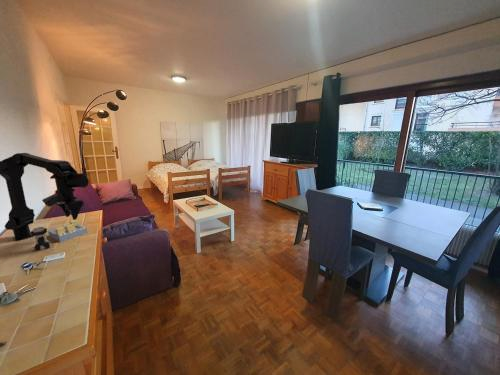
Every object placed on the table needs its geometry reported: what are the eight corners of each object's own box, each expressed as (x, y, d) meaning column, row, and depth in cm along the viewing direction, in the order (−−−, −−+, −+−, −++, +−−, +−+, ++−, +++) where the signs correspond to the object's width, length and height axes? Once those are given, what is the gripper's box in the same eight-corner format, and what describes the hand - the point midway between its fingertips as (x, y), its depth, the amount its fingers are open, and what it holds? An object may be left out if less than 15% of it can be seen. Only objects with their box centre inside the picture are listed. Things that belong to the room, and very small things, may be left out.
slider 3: (70, 226, 114) (69, 221, 114) (76, 224, 117) (75, 219, 116) (72, 226, 113) (71, 221, 113) (78, 225, 116) (77, 220, 115)
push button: (29, 253, 93) (24, 232, 90) (32, 248, 97) (27, 228, 95) (50, 249, 96) (45, 229, 94) (52, 244, 101) (47, 225, 98)
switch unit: (49, 236, 110) (47, 230, 109) (75, 228, 120) (74, 222, 119) (60, 242, 103) (58, 235, 102) (87, 233, 113) (86, 227, 112)
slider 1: (56, 234, 105) (55, 228, 104) (63, 231, 107) (62, 226, 106) (58, 235, 103) (57, 229, 103) (65, 232, 106) (64, 227, 105)
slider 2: (66, 231, 108) (65, 225, 107) (72, 229, 110) (71, 223, 110) (68, 232, 107) (67, 226, 106) (75, 229, 109) (73, 224, 109)
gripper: (34, 188, 98) (42, 220, 102) (50, 193, 89) (58, 227, 93) (64, 184, 108) (70, 213, 111) (81, 188, 99) (87, 219, 102)
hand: (71, 218), depth 104 cm, fingers open, 8 cm apart
